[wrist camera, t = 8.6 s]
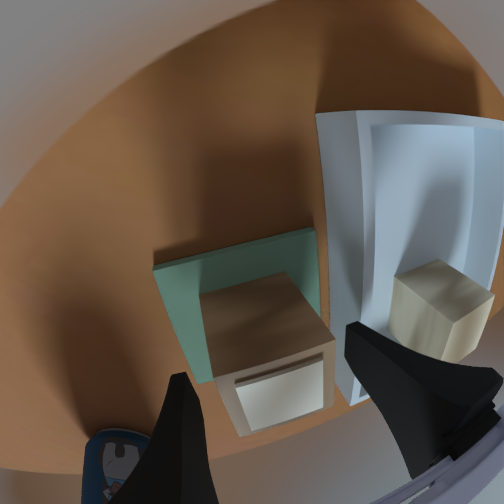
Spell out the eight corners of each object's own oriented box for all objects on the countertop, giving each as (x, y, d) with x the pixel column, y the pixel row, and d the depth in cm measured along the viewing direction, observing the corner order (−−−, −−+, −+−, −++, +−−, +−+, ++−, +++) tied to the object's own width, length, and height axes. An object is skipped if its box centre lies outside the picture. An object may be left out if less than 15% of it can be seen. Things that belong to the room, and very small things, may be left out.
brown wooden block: (285, 271, 14) (338, 342, 9) (293, 335, 16) (335, 409, 11) (198, 294, 14) (214, 382, 9) (219, 357, 16) (240, 440, 11)
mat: (310, 226, 15) (316, 230, 14) (317, 342, 18) (321, 348, 17) (153, 265, 13) (152, 271, 13) (196, 377, 17) (197, 384, 16)
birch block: (438, 258, 17) (494, 295, 12) (429, 308, 19) (475, 348, 14) (394, 276, 17) (453, 323, 12) (387, 329, 18) (433, 377, 14)
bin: (470, 116, 14) (508, 122, 11) (451, 314, 22) (475, 334, 18) (314, 113, 12) (355, 110, 9) (329, 372, 20) (350, 406, 16)
